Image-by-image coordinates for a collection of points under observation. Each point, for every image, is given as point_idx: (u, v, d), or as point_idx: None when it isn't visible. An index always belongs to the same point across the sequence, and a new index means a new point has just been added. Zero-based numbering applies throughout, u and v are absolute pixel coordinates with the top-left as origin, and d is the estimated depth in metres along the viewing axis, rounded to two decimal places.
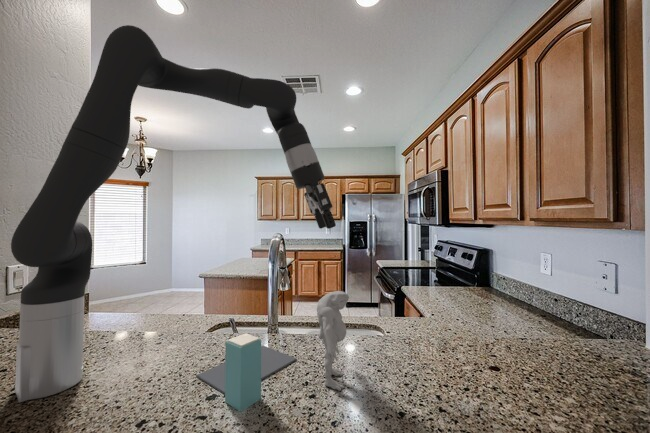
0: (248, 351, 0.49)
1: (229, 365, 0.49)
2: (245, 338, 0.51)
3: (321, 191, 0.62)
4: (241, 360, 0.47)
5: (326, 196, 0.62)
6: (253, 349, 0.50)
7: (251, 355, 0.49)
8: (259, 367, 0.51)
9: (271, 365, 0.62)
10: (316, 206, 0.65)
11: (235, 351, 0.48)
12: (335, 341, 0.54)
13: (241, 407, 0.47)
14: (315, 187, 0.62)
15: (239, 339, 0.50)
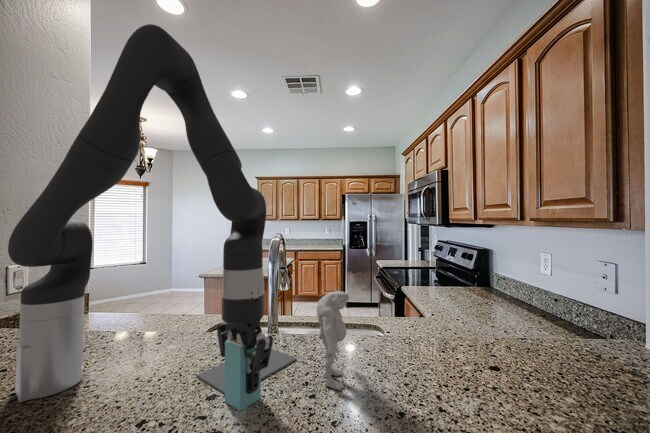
0: (247, 350, 0.49)
1: (229, 365, 0.49)
2: None
3: (266, 349, 0.47)
4: (240, 360, 0.48)
5: (268, 355, 0.48)
6: (252, 348, 0.50)
7: None
8: None
9: (271, 365, 0.62)
10: (244, 359, 0.48)
11: (234, 350, 0.48)
12: (335, 341, 0.54)
13: (241, 406, 0.47)
14: (263, 344, 0.46)
15: None
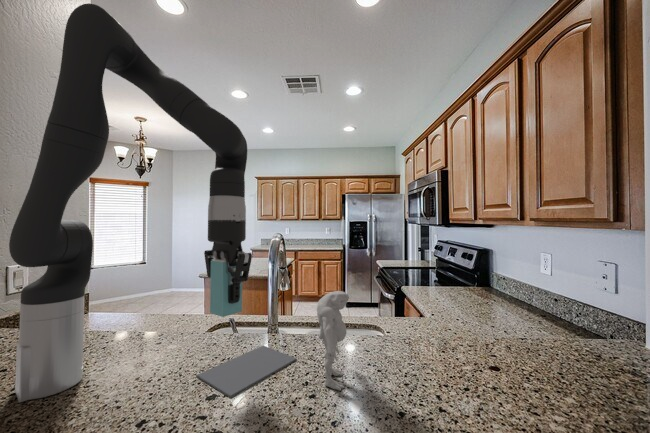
0: (230, 267, 0.56)
1: (214, 280, 0.56)
2: None
3: (245, 262, 0.54)
4: (223, 273, 0.55)
5: (247, 269, 0.55)
6: (234, 266, 0.57)
7: None
8: (240, 283, 0.58)
9: (271, 365, 0.62)
10: (227, 272, 0.55)
11: (218, 266, 0.56)
12: (335, 341, 0.54)
13: (223, 313, 0.54)
14: (243, 256, 0.53)
15: None
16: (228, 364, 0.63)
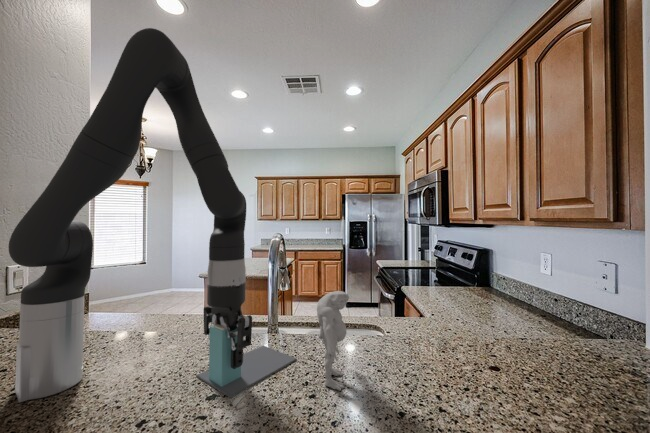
0: None
1: (213, 347, 0.56)
2: None
3: (247, 326, 0.53)
4: (222, 342, 0.54)
5: (249, 333, 0.54)
6: None
7: None
8: None
9: (271, 365, 0.62)
10: (228, 338, 0.54)
11: (217, 334, 0.55)
12: (335, 341, 0.54)
13: (222, 383, 0.54)
14: (243, 321, 0.53)
15: None
16: None
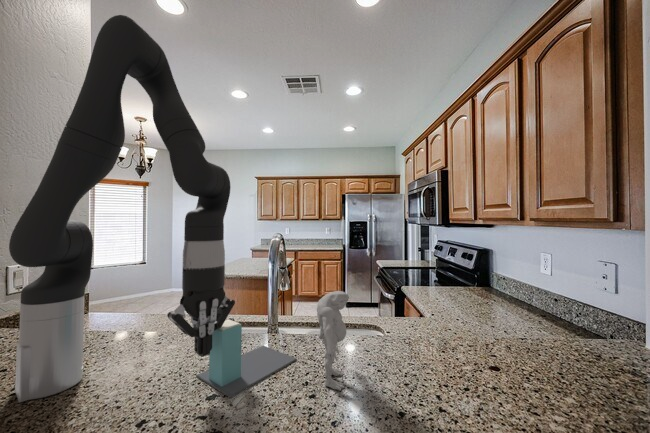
0: (229, 334, 0.55)
1: (213, 347, 0.56)
2: (227, 323, 0.58)
3: (175, 322, 0.49)
4: (222, 342, 0.54)
5: (182, 328, 0.49)
6: (234, 332, 0.56)
7: (232, 338, 0.56)
8: (239, 349, 0.57)
9: (271, 365, 0.62)
10: None
11: (217, 334, 0.55)
12: (335, 341, 0.54)
13: (222, 383, 0.54)
14: (168, 317, 0.49)
15: None
16: None
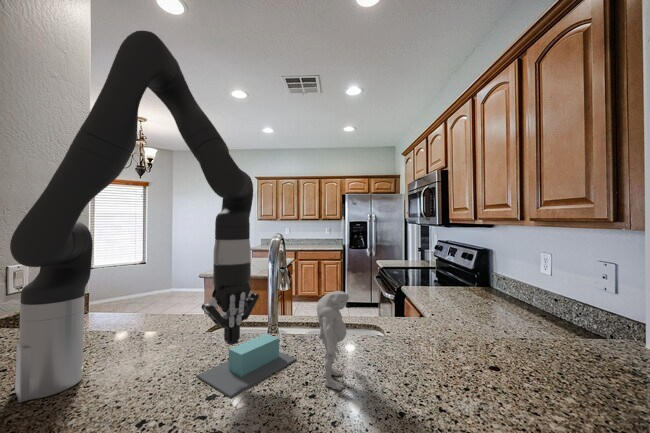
0: (275, 346, 0.65)
1: (257, 340, 0.65)
2: None
3: (209, 313, 0.54)
4: (272, 341, 0.64)
5: (214, 319, 0.54)
6: (275, 351, 0.65)
7: (272, 350, 0.64)
8: (263, 363, 0.62)
9: (271, 365, 0.62)
10: None
11: (271, 337, 0.66)
12: (335, 341, 0.54)
13: (243, 354, 0.58)
14: (202, 308, 0.54)
15: None
16: (228, 364, 0.63)
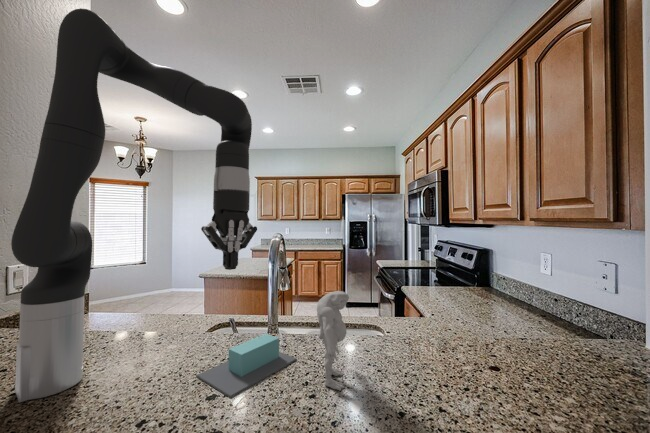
0: (275, 346, 0.65)
1: (257, 340, 0.65)
2: None
3: (208, 235, 0.56)
4: (272, 341, 0.64)
5: (214, 240, 0.56)
6: (275, 351, 0.65)
7: (272, 350, 0.64)
8: (263, 363, 0.62)
9: (271, 365, 0.62)
10: None
11: (271, 337, 0.66)
12: (335, 341, 0.54)
13: (243, 354, 0.58)
14: (202, 229, 0.56)
15: None
16: (228, 364, 0.63)
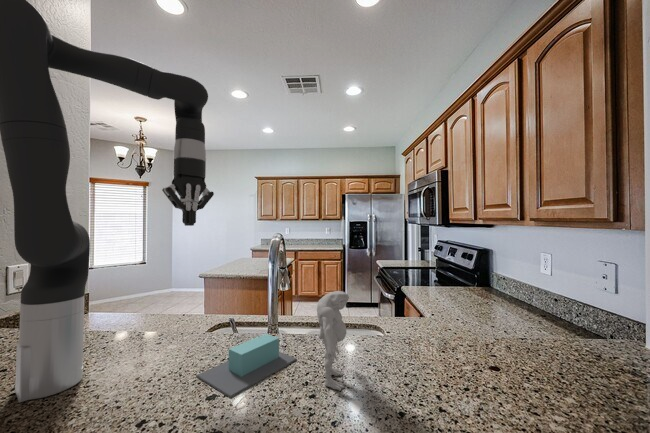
0: (275, 346, 0.65)
1: (257, 340, 0.65)
2: None
3: (168, 195, 0.68)
4: (272, 341, 0.64)
5: (173, 199, 0.68)
6: (275, 351, 0.65)
7: (272, 350, 0.64)
8: (263, 363, 0.62)
9: (271, 365, 0.62)
10: None
11: (271, 337, 0.66)
12: (335, 341, 0.54)
13: (243, 354, 0.58)
14: (163, 190, 0.68)
15: None
16: (228, 364, 0.63)
